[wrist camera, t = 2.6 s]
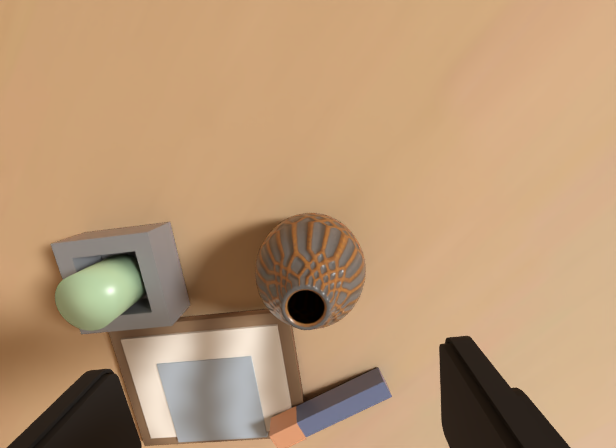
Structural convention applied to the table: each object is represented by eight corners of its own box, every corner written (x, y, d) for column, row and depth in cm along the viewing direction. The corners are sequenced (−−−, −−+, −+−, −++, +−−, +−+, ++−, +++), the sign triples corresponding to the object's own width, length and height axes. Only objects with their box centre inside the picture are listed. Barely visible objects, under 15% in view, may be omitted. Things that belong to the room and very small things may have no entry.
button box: (170, 221, 23) (147, 231, 20) (190, 305, 24) (171, 325, 21) (84, 232, 23) (50, 243, 20) (109, 313, 25) (81, 334, 22)
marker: (377, 366, 25) (384, 381, 23) (386, 382, 25) (392, 398, 23) (270, 417, 25) (269, 436, 23) (280, 432, 26) (279, 451, 24)
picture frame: (288, 306, 24) (287, 313, 23) (308, 428, 27) (308, 439, 26) (113, 323, 25) (104, 330, 24) (149, 438, 28) (142, 449, 27)
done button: (142, 251, 22) (104, 271, 18) (155, 298, 22) (122, 327, 19) (93, 256, 22) (46, 277, 18) (108, 303, 23) (66, 333, 19)
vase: (250, 258, 23) (207, 320, 15) (302, 186, 22) (287, 208, 13) (322, 307, 24) (320, 394, 15) (377, 241, 22) (410, 296, 14)
